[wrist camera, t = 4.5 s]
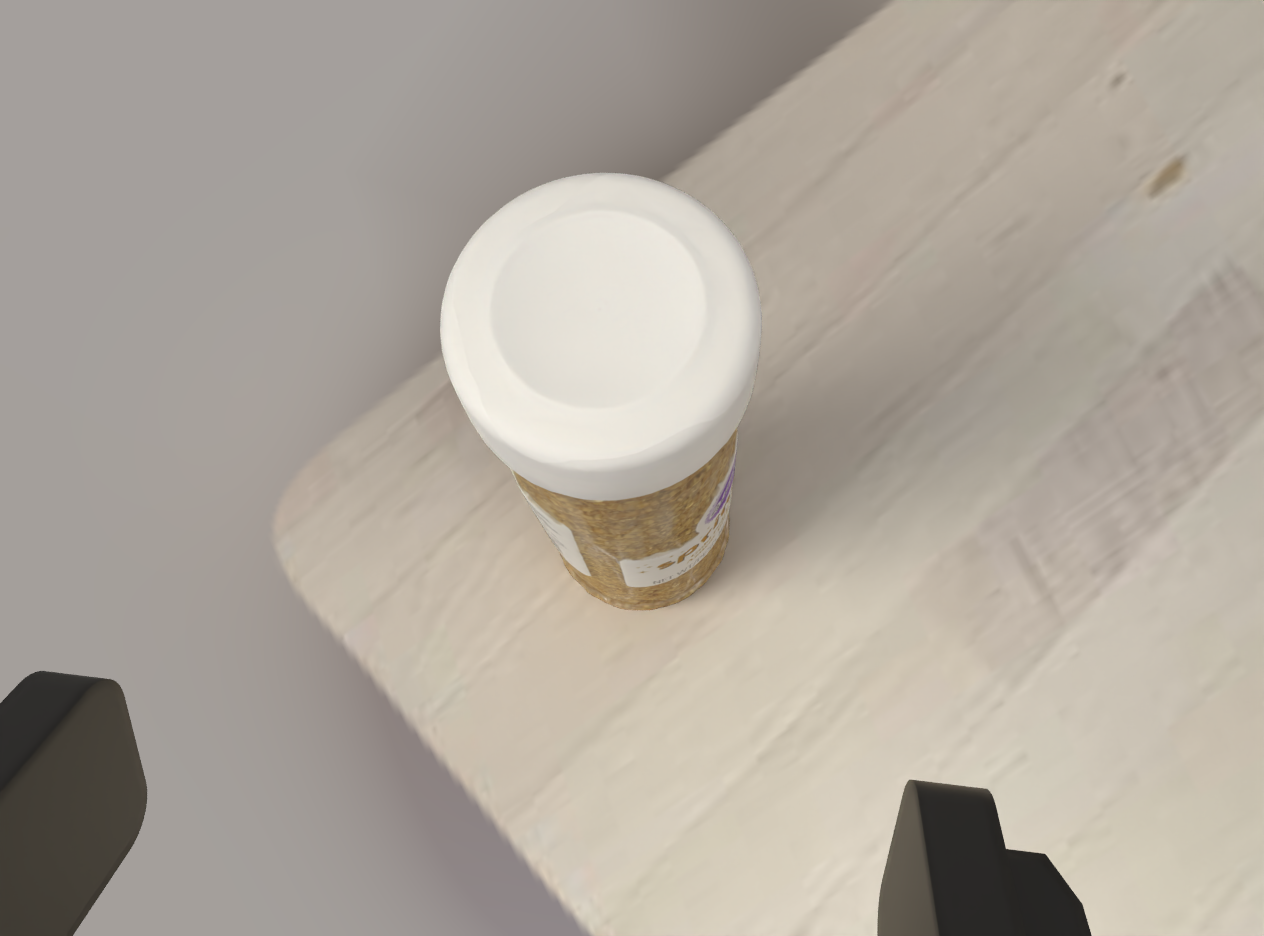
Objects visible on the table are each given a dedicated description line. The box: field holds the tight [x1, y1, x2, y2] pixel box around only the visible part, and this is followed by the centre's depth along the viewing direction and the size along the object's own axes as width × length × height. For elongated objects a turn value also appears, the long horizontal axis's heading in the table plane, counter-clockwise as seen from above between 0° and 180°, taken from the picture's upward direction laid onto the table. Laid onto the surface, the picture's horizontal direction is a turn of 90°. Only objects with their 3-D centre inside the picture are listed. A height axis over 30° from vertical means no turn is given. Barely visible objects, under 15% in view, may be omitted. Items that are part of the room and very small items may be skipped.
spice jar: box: [440, 173, 762, 610], centre depth 21 cm, size 5×5×14 cm
